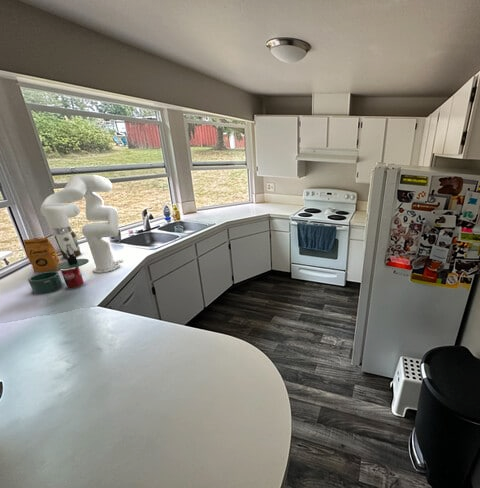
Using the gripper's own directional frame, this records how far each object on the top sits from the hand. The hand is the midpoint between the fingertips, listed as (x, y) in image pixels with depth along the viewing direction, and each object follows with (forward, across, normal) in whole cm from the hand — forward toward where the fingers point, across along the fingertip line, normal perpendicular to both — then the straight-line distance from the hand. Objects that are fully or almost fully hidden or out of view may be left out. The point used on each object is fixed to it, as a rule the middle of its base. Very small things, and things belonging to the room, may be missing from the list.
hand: (72, 262), depth 134 cm
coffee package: (+18, +52, +6) cm, 55 cm away
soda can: (+18, +12, +1) cm, 22 cm away
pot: (+18, +20, +11) cm, 29 cm away
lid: (+1, 0, 0) cm, 1 cm away
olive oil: (+18, +71, -9) cm, 74 cm away
